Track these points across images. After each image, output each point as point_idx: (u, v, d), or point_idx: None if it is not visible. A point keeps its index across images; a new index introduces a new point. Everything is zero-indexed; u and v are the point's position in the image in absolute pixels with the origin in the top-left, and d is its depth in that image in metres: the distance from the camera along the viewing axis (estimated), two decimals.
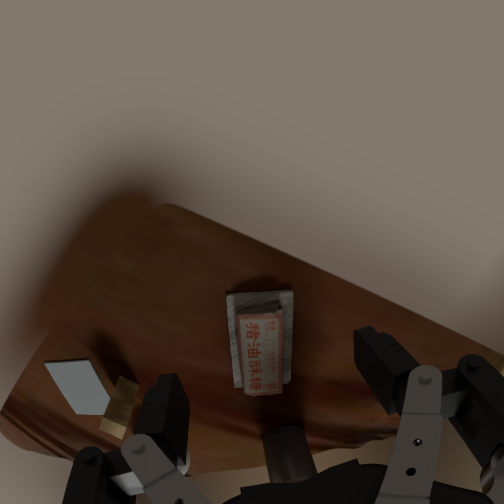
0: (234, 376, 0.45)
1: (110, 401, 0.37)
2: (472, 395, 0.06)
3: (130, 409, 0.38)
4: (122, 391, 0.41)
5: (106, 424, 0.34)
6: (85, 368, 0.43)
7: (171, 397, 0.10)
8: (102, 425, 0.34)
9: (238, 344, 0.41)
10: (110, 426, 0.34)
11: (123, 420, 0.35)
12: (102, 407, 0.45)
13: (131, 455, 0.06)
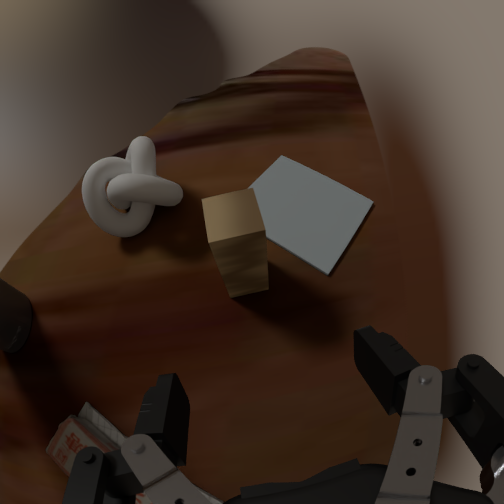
0: (101, 418, 0.23)
1: (264, 257, 0.23)
2: (472, 395, 0.06)
3: (220, 268, 0.23)
4: (252, 278, 0.26)
5: (248, 214, 0.20)
6: (322, 254, 0.30)
7: (171, 397, 0.10)
8: (253, 204, 0.21)
9: None
10: (237, 215, 0.20)
11: (222, 248, 0.21)
12: None
13: (131, 455, 0.06)
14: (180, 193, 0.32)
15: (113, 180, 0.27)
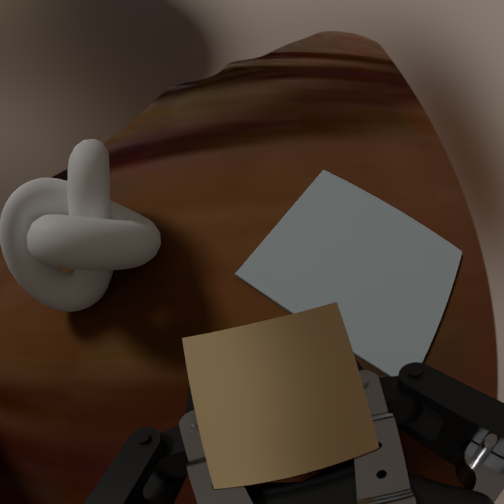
0: None
1: None
2: (423, 403, 0.07)
3: None
4: None
5: (329, 403, 0.06)
6: (402, 352, 0.16)
7: None
8: (342, 364, 0.06)
9: None
10: (296, 407, 0.06)
11: None
12: (289, 254, 0.20)
13: (192, 430, 0.07)
14: (153, 244, 0.17)
15: (30, 228, 0.13)
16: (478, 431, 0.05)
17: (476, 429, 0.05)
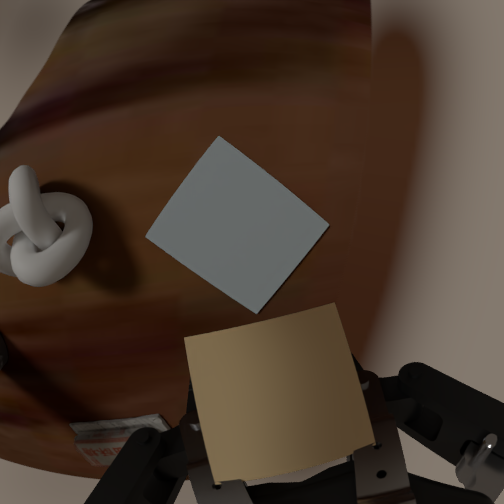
0: (80, 425, 0.32)
1: None
2: (423, 403, 0.07)
3: None
4: None
5: (327, 401, 0.06)
6: (253, 293, 0.29)
7: None
8: (340, 363, 0.06)
9: (119, 438, 0.30)
10: (295, 404, 0.06)
11: None
12: (181, 222, 0.27)
13: (192, 430, 0.07)
14: (89, 236, 0.23)
15: (14, 269, 0.18)
16: (478, 431, 0.05)
17: (476, 429, 0.05)
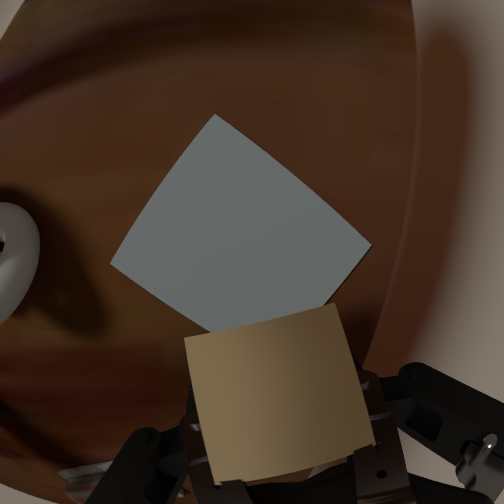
0: (65, 472, 0.24)
1: None
2: (423, 403, 0.07)
3: None
4: None
5: (327, 401, 0.06)
6: None
7: None
8: (340, 363, 0.06)
9: None
10: (295, 404, 0.06)
11: None
12: (159, 243, 0.18)
13: (192, 430, 0.07)
14: (32, 266, 0.14)
15: None
16: (478, 431, 0.05)
17: (476, 429, 0.05)
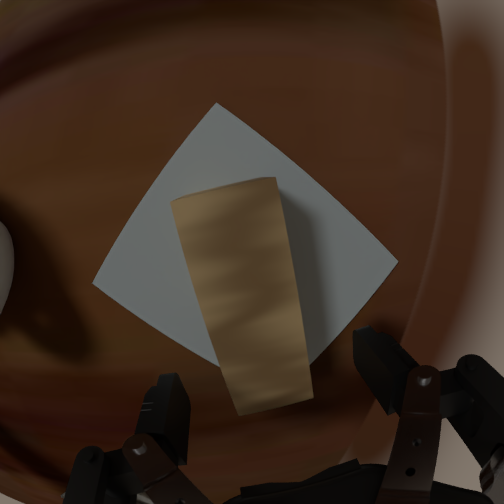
0: None
1: (289, 276, 0.11)
2: (471, 395, 0.06)
3: (202, 303, 0.11)
4: (274, 353, 0.12)
5: (248, 181, 0.12)
6: None
7: (172, 396, 0.10)
8: (258, 178, 0.13)
9: None
10: (230, 185, 0.12)
11: (197, 227, 0.10)
12: (149, 260, 0.15)
13: (132, 454, 0.06)
14: (3, 286, 0.11)
15: None
16: None
17: None
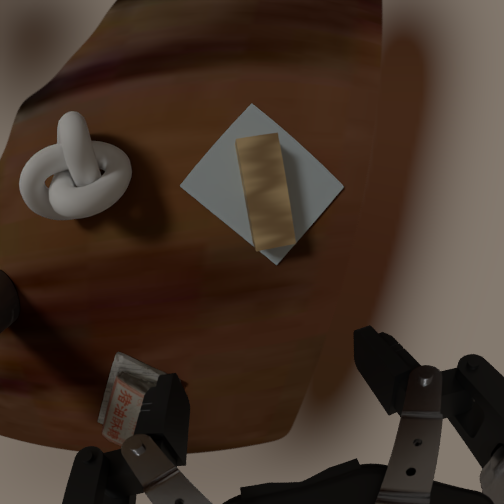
0: (100, 414, 0.37)
1: (282, 172, 0.26)
2: (472, 395, 0.06)
3: (245, 181, 0.26)
4: (275, 210, 0.27)
5: None
6: None
7: (171, 397, 0.10)
8: None
9: (109, 398, 0.33)
10: None
11: (246, 149, 0.26)
12: (214, 174, 0.30)
13: (131, 455, 0.06)
14: (128, 179, 0.26)
15: (54, 201, 0.21)
16: None
17: None
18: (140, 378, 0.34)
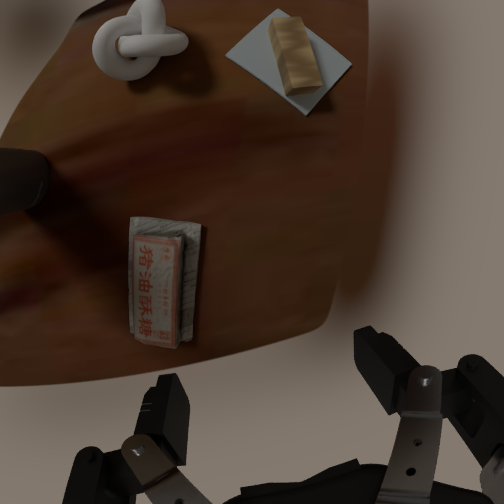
0: (130, 318, 0.39)
1: (307, 39, 0.28)
2: (472, 395, 0.06)
3: (280, 42, 0.28)
4: (304, 61, 0.29)
5: None
6: (303, 99, 0.34)
7: (171, 397, 0.10)
8: None
9: (132, 272, 0.35)
10: None
11: (280, 24, 0.28)
12: (252, 48, 0.32)
13: (131, 455, 0.06)
14: (187, 42, 0.28)
15: (129, 41, 0.23)
16: None
17: None
18: (159, 234, 0.36)
